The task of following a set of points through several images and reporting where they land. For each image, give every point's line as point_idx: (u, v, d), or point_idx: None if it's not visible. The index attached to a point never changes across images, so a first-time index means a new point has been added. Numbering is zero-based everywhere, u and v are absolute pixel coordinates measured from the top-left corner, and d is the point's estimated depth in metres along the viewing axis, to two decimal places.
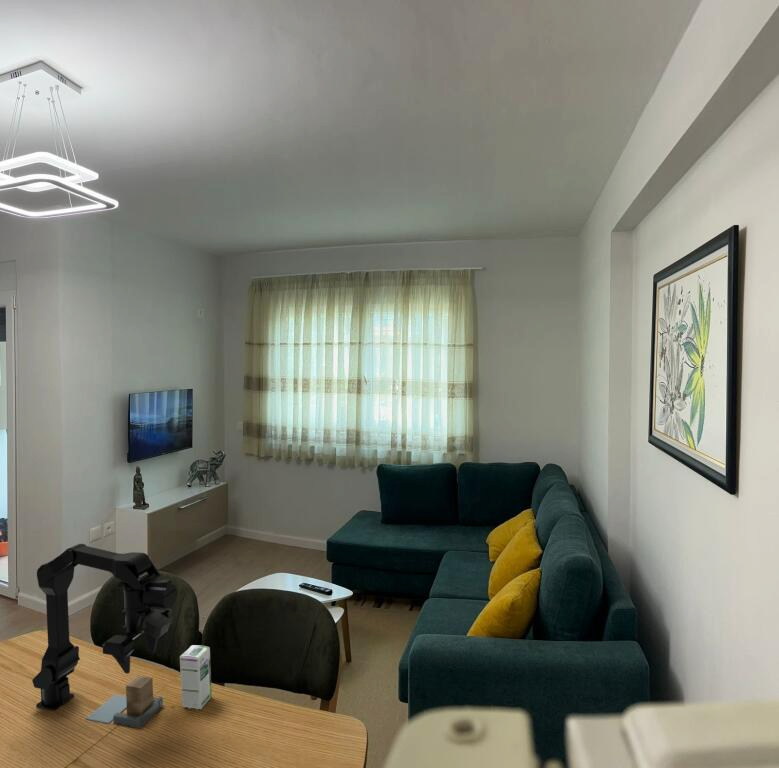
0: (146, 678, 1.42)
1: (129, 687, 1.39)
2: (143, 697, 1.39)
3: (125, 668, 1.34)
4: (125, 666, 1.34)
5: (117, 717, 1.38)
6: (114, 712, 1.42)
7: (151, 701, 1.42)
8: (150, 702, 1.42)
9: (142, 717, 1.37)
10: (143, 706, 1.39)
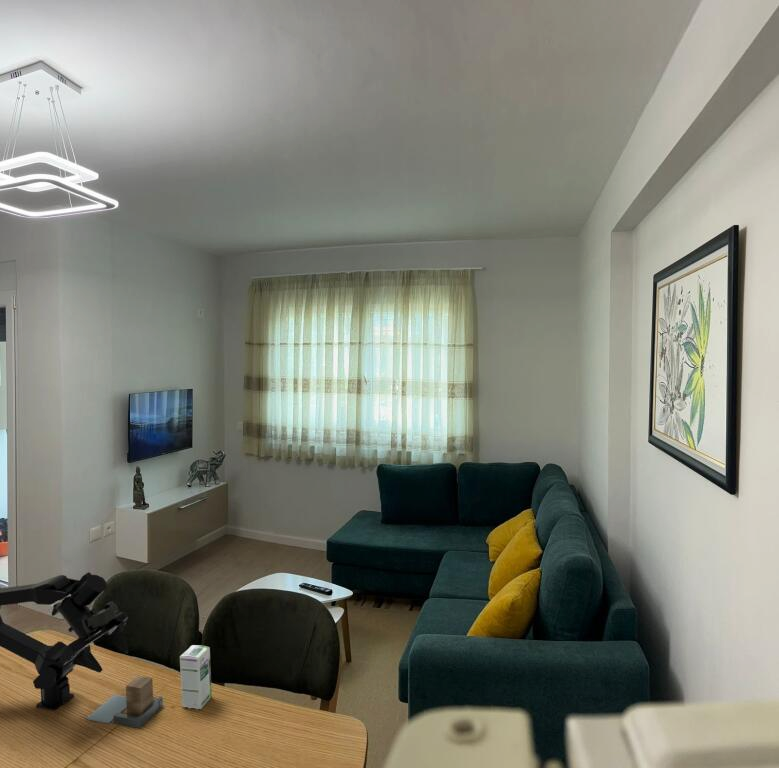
0: (146, 678, 1.42)
1: (129, 687, 1.39)
2: (143, 697, 1.39)
3: (95, 667, 1.38)
4: (94, 665, 1.37)
5: (117, 717, 1.38)
6: (114, 712, 1.42)
7: (151, 701, 1.42)
8: (150, 702, 1.42)
9: (142, 717, 1.37)
10: (143, 706, 1.39)
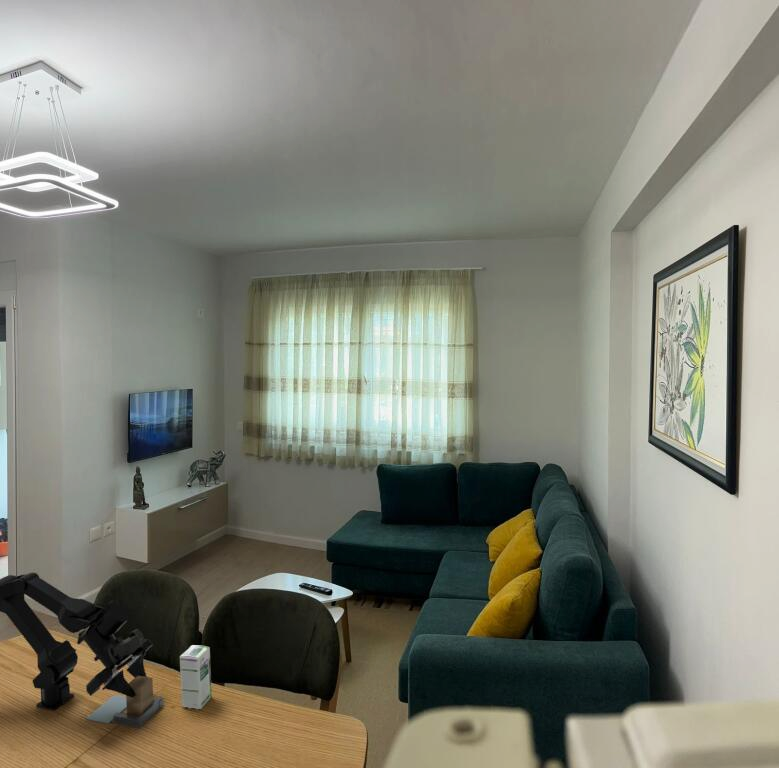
0: (146, 678, 1.42)
1: None
2: (143, 697, 1.39)
3: (128, 692, 1.38)
4: (127, 690, 1.38)
5: (117, 717, 1.38)
6: (114, 712, 1.42)
7: (151, 701, 1.42)
8: (150, 702, 1.42)
9: (142, 717, 1.37)
10: (143, 706, 1.39)
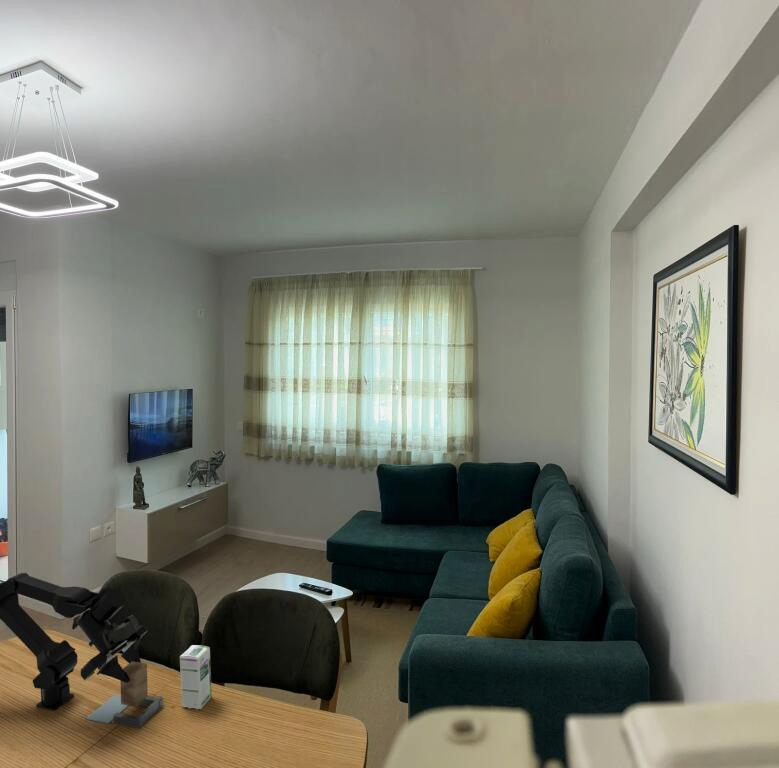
0: (140, 664, 1.42)
1: None
2: (137, 682, 1.39)
3: (123, 677, 1.38)
4: (121, 675, 1.38)
5: (117, 717, 1.38)
6: (114, 712, 1.42)
7: (145, 687, 1.42)
8: (144, 688, 1.42)
9: (142, 717, 1.37)
10: (137, 691, 1.39)
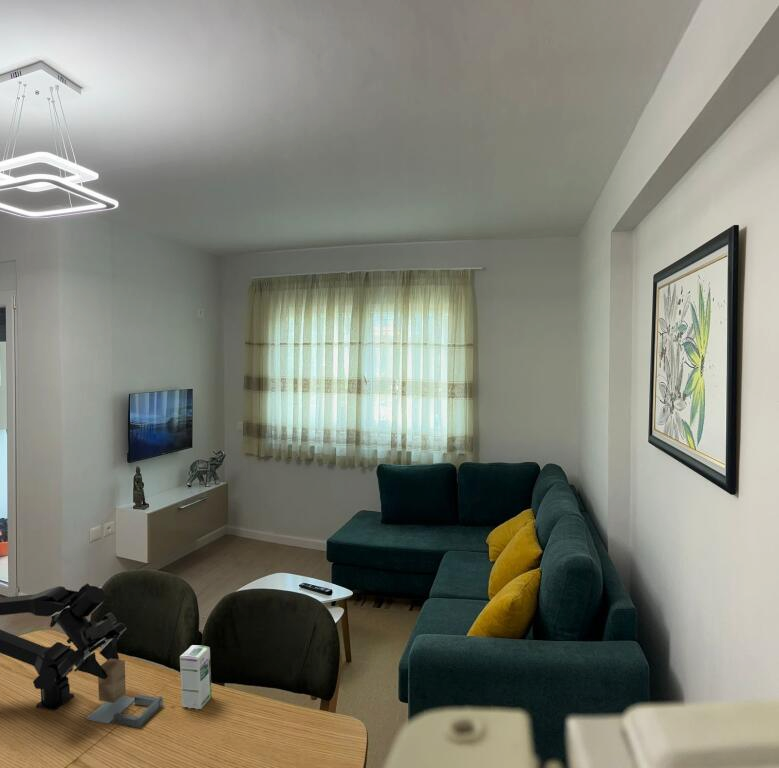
0: (118, 660, 1.44)
1: None
2: (115, 679, 1.41)
3: (100, 674, 1.40)
4: (99, 672, 1.40)
5: (117, 717, 1.38)
6: (114, 712, 1.42)
7: (123, 683, 1.44)
8: (122, 684, 1.44)
9: (142, 717, 1.37)
10: (115, 688, 1.41)
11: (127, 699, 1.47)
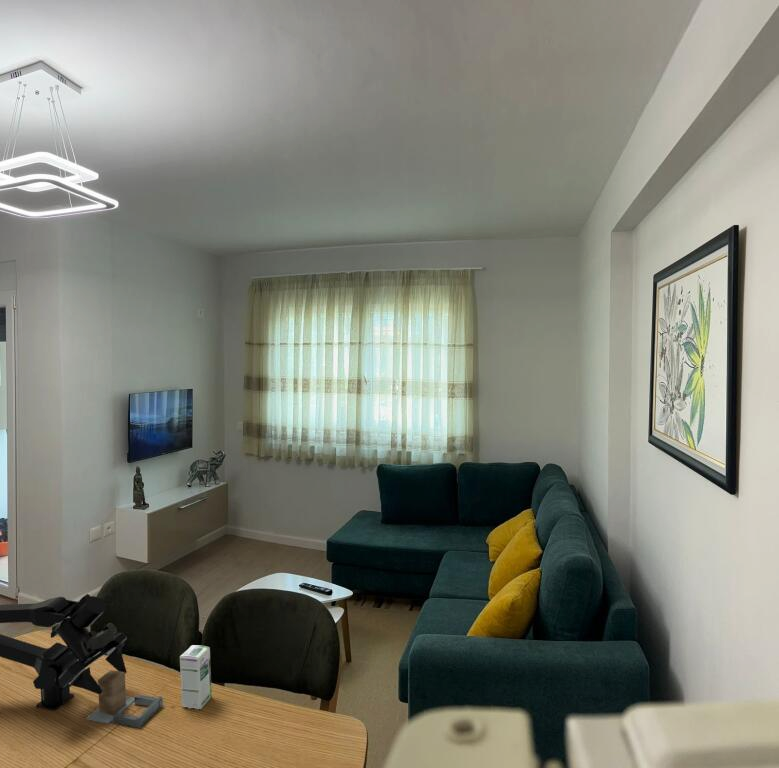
0: (119, 672, 1.44)
1: (101, 681, 1.41)
2: (115, 691, 1.41)
3: (95, 689, 1.38)
4: (93, 687, 1.38)
5: (117, 717, 1.38)
6: None
7: (123, 695, 1.44)
8: (122, 696, 1.44)
9: (142, 717, 1.37)
10: (115, 700, 1.41)
11: (127, 699, 1.47)
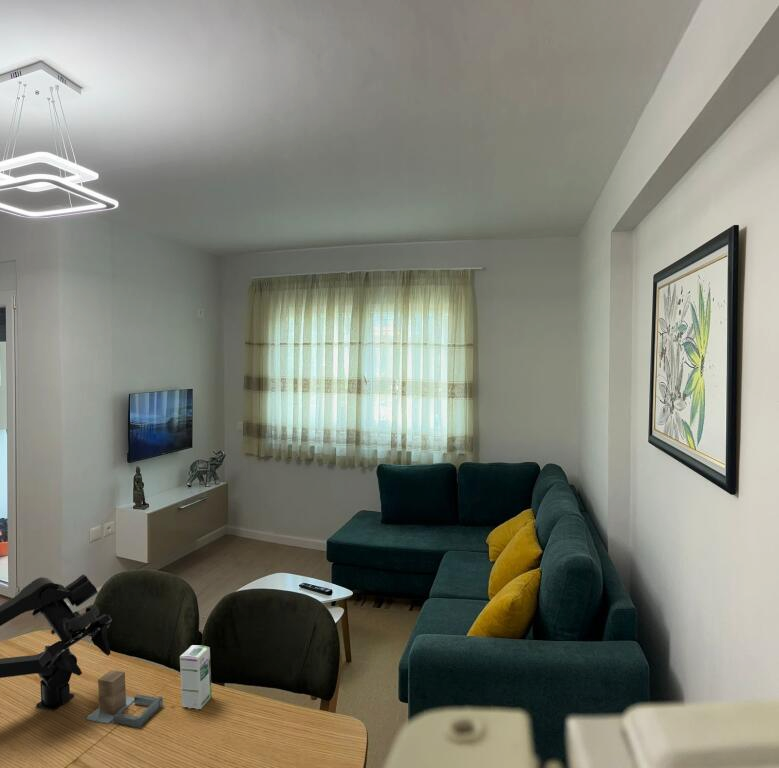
0: (119, 672, 1.44)
1: (101, 681, 1.41)
2: (115, 691, 1.41)
3: (75, 670, 1.38)
4: (73, 668, 1.38)
5: (117, 717, 1.38)
6: None
7: (123, 695, 1.44)
8: (122, 696, 1.44)
9: (142, 717, 1.37)
10: (115, 700, 1.41)
11: (127, 699, 1.47)
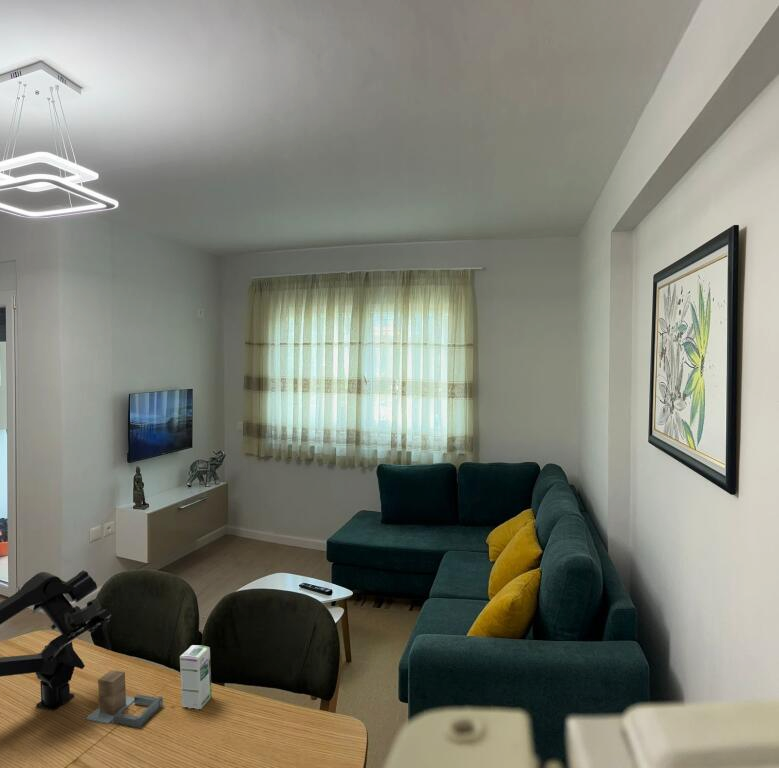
0: (119, 672, 1.44)
1: (101, 681, 1.41)
2: (115, 691, 1.41)
3: (77, 664, 1.39)
4: (76, 662, 1.39)
5: (117, 717, 1.38)
6: None
7: (123, 695, 1.44)
8: (122, 696, 1.44)
9: (142, 717, 1.37)
10: (115, 700, 1.41)
11: (127, 699, 1.47)
